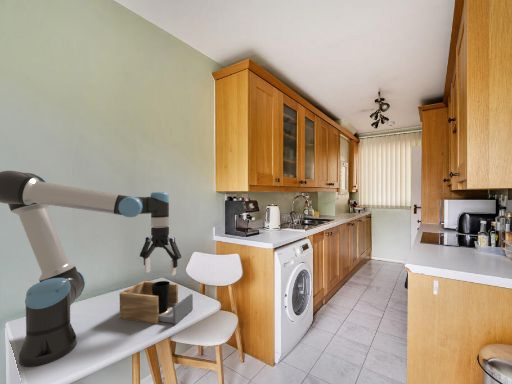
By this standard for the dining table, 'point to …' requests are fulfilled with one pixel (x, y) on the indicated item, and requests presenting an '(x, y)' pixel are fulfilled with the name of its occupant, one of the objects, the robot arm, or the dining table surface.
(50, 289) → the robot arm
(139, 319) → the housing
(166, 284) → the cup
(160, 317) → the grey drawer
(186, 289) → the dining table surface
